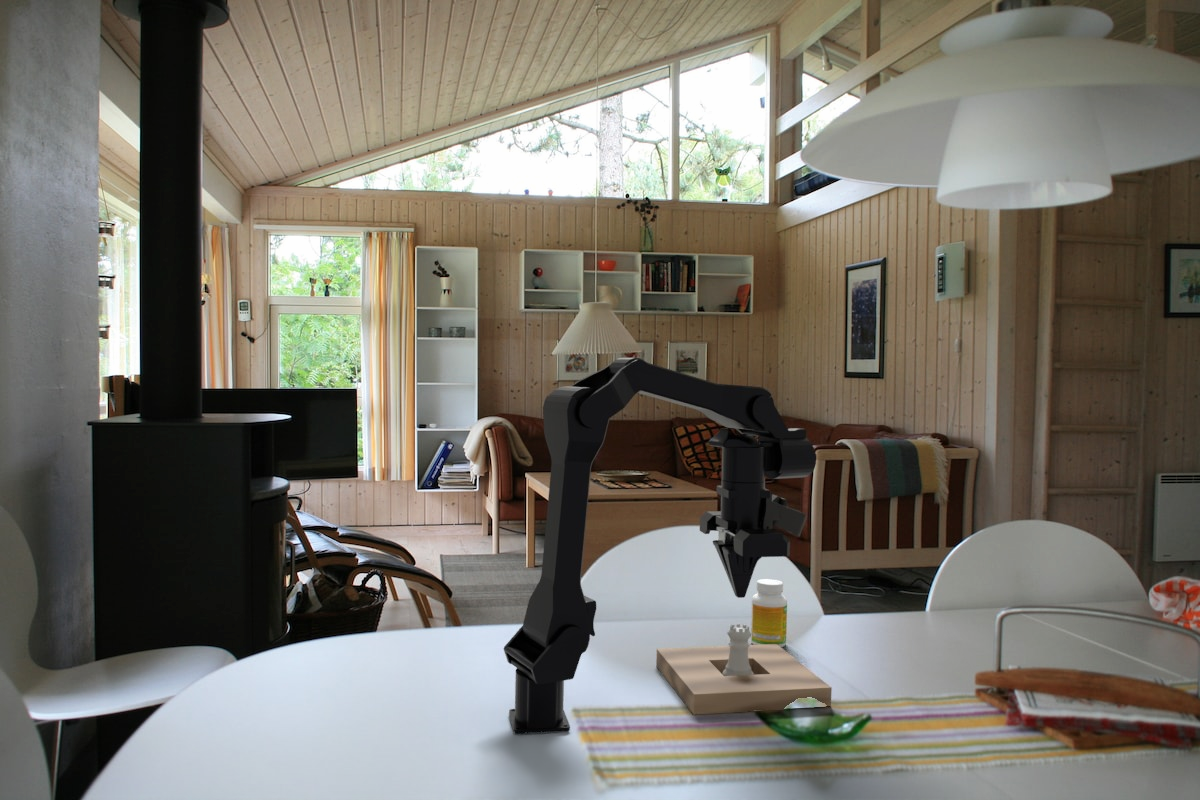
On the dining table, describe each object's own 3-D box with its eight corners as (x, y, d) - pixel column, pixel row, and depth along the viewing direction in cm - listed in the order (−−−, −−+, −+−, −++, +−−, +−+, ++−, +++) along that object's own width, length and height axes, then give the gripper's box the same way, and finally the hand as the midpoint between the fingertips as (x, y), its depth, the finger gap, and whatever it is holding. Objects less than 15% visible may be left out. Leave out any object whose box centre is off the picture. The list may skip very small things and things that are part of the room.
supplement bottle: (789, 649, 136) (790, 586, 135) (753, 648, 136) (755, 585, 135) (782, 639, 141) (784, 578, 141) (748, 638, 141) (750, 577, 141)
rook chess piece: (754, 693, 117) (756, 632, 117) (720, 690, 118) (721, 629, 117) (755, 681, 121) (757, 623, 121) (722, 678, 122) (723, 620, 122)
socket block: (831, 707, 112) (831, 687, 112) (693, 714, 109) (694, 694, 109) (776, 660, 130) (776, 643, 130) (656, 666, 127) (656, 648, 127)
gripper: (830, 489, 111) (827, 614, 112) (773, 472, 129) (770, 579, 130) (745, 490, 109) (742, 617, 109) (699, 472, 127) (697, 581, 128)
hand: (740, 596), depth 119 cm, fingers closed
